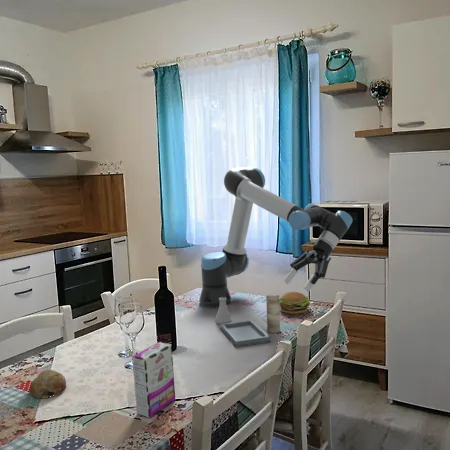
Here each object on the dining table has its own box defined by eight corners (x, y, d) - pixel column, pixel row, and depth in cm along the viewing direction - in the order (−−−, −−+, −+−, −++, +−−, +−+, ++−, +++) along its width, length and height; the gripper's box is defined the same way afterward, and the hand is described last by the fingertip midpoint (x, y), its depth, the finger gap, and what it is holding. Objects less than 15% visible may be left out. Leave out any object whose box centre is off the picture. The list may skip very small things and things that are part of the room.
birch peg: (265, 329, 184) (264, 295, 182) (277, 327, 185) (276, 293, 184) (270, 333, 179) (269, 298, 177) (282, 332, 181) (281, 296, 179)
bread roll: (32, 411, 135) (31, 393, 131) (28, 384, 143) (27, 366, 139) (68, 402, 140) (68, 384, 136) (62, 376, 147) (62, 358, 143)
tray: (220, 328, 187) (220, 324, 186) (251, 324, 190) (251, 319, 190) (236, 347, 168) (236, 341, 167) (270, 341, 171) (270, 336, 171)
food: (277, 315, 201) (277, 297, 200) (279, 305, 214) (278, 288, 213) (310, 316, 198) (309, 297, 197) (309, 306, 212) (309, 288, 211)
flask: (230, 325, 191) (229, 301, 190) (213, 324, 192) (212, 300, 191) (233, 319, 198) (232, 296, 197) (216, 318, 199) (216, 295, 198)
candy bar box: (162, 396, 134) (158, 341, 132) (176, 400, 131) (173, 344, 129) (135, 414, 124) (131, 355, 122) (149, 419, 122) (145, 359, 120)
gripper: (351, 254, 180) (320, 298, 175) (311, 245, 202) (283, 284, 198) (340, 242, 177) (309, 287, 172) (301, 235, 199) (272, 274, 195)
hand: (295, 286), depth 185 cm, fingers open, 13 cm apart
